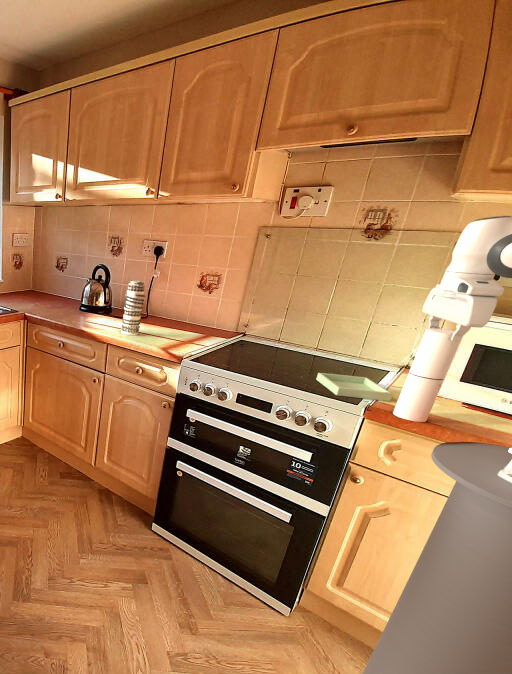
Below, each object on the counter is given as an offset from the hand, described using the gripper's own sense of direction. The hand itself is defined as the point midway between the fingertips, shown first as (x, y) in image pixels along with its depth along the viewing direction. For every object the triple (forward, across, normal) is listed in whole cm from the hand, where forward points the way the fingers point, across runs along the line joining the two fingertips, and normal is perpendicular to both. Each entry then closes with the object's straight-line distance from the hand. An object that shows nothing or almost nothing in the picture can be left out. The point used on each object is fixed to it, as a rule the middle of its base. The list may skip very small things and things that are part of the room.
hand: (442, 336), depth 113 cm
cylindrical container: (+24, 0, 0) cm, 24 cm away
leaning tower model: (+24, -71, -80) cm, 110 cm away
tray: (+24, -20, -7) cm, 31 cm away
